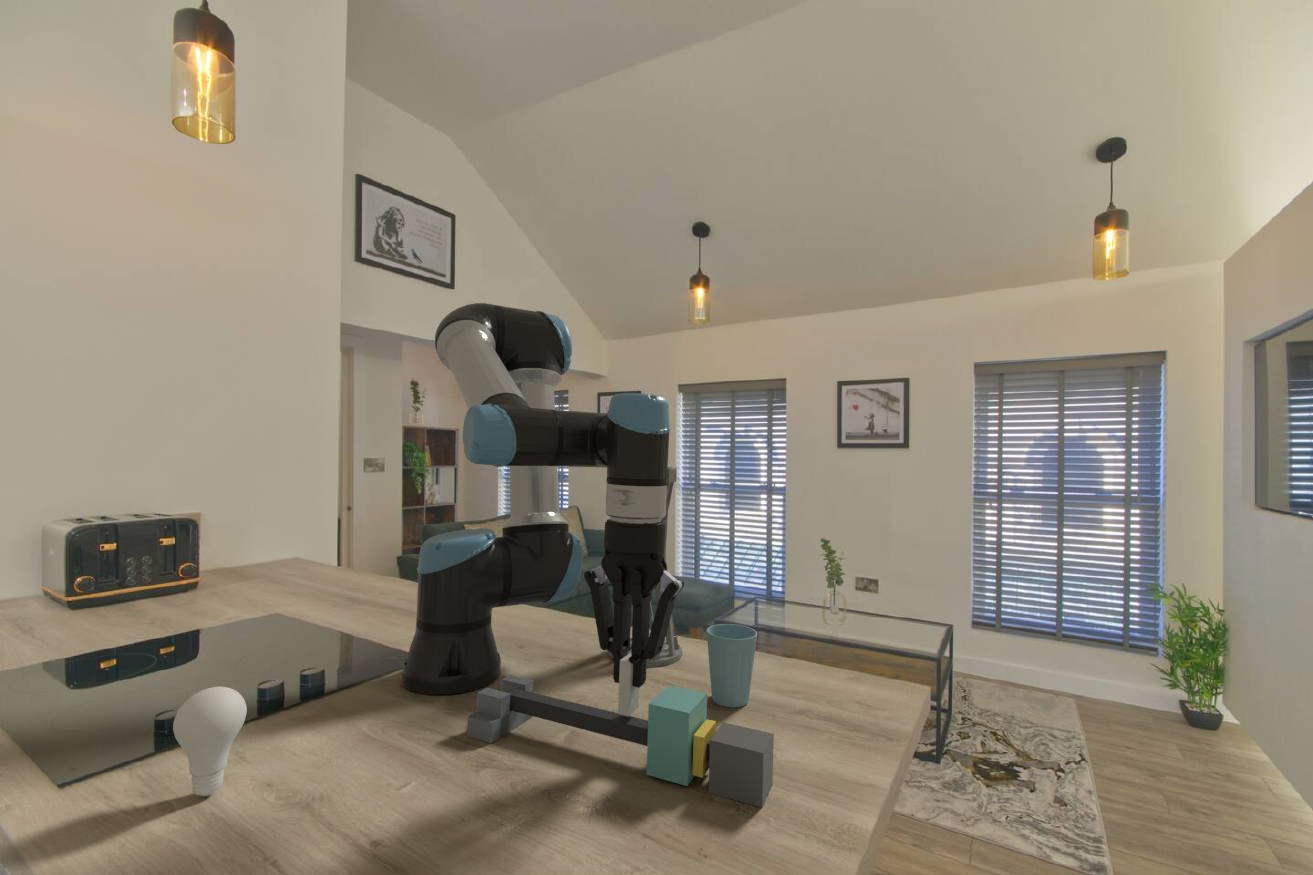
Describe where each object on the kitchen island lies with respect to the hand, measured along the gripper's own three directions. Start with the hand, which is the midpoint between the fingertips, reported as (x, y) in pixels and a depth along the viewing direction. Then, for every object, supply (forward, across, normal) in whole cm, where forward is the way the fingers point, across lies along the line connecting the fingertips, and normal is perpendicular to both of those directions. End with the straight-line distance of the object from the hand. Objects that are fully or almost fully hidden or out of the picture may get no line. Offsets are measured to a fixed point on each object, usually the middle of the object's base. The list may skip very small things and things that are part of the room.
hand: (628, 710), depth 70 cm
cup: (+6, +7, +22) cm, 23 cm away
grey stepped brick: (+6, -18, 0) cm, 19 cm away
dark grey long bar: (+4, 0, 0) cm, 4 cm away
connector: (+5, +15, -1) cm, 16 cm away
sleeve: (+5, +7, 0) cm, 9 cm away
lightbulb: (+6, -36, -27) cm, 45 cm away
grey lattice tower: (+6, -13, +34) cm, 37 cm away
